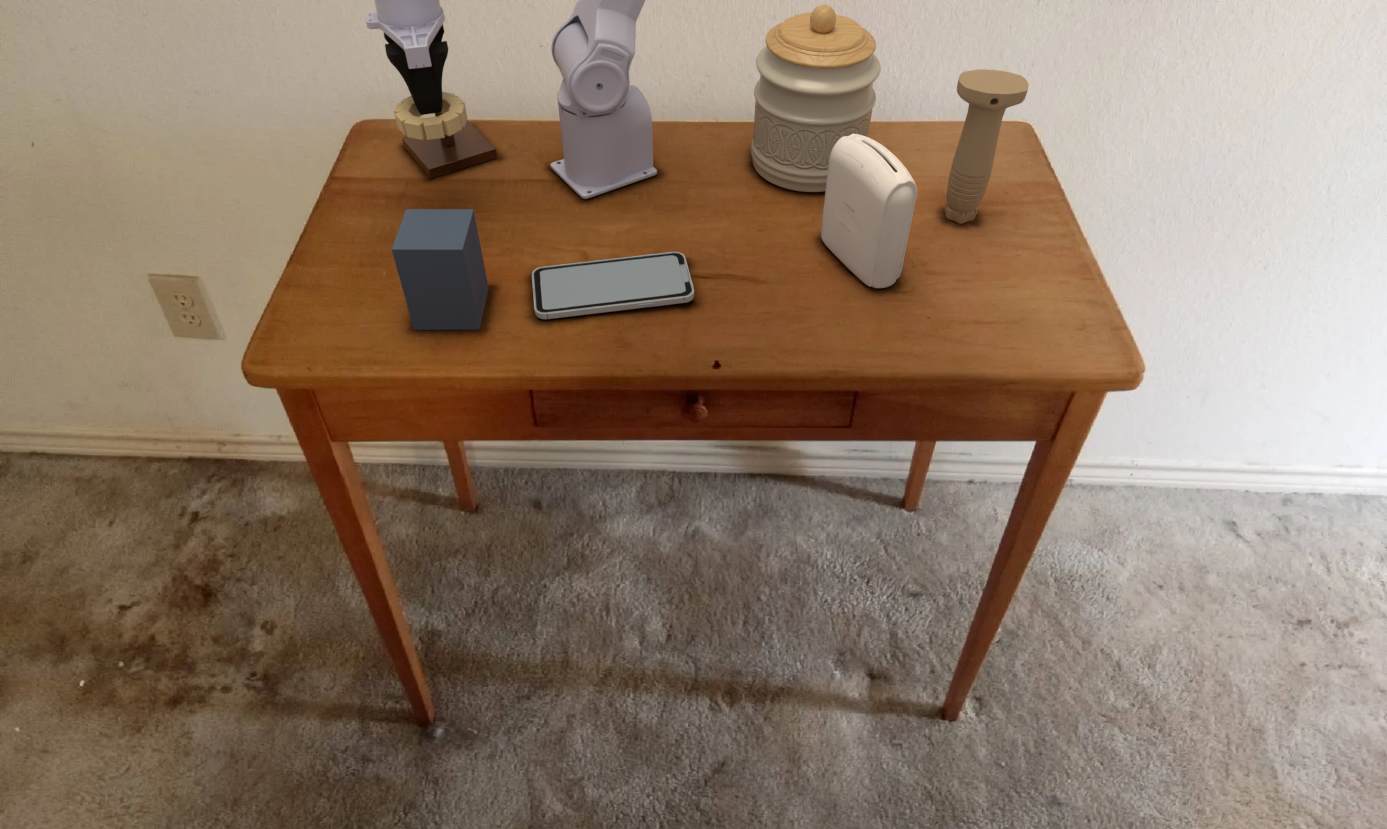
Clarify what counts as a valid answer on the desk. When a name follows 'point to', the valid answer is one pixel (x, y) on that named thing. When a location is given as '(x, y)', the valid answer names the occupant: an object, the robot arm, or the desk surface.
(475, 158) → the stand
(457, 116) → the bracelet
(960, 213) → the handle
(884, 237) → the photo printer
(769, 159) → the jar
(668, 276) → the smartphone
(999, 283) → the desk surface
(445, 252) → the block
